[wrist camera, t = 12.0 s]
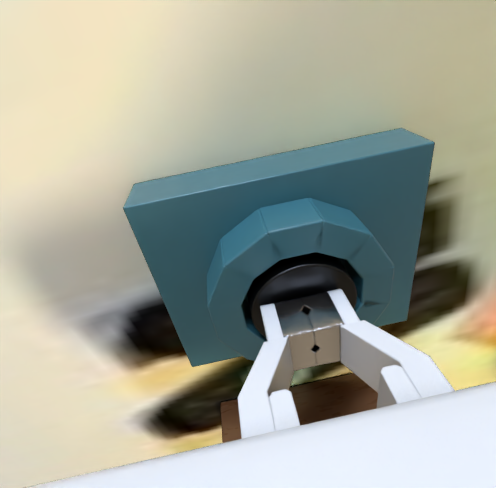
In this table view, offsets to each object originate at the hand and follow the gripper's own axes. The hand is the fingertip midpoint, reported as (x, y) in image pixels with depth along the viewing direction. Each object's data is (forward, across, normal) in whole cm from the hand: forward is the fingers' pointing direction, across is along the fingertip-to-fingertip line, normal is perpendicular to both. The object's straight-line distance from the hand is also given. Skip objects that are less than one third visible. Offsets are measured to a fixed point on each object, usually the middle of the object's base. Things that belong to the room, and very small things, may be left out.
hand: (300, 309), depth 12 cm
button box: (+4, 0, 0) cm, 4 cm away
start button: (+2, 0, 0) cm, 2 cm away
